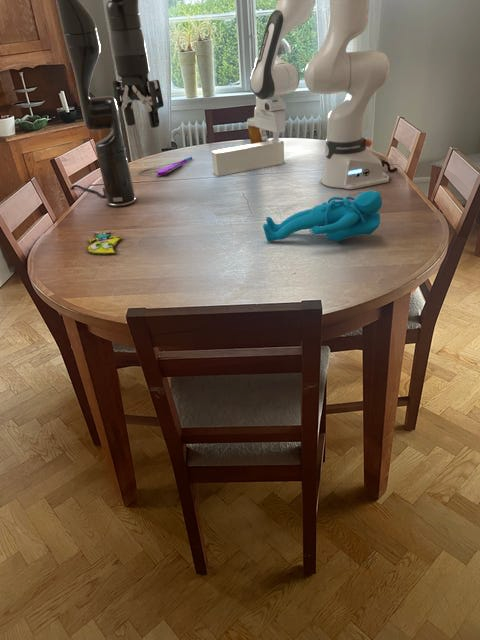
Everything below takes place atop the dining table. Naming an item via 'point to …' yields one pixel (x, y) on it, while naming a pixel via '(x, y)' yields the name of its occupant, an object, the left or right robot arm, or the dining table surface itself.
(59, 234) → the dining table surface
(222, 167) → the bar
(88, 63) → the left robot arm
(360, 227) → the toy
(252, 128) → the disposable coffee cup
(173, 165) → the musical instrument
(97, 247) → the toy
